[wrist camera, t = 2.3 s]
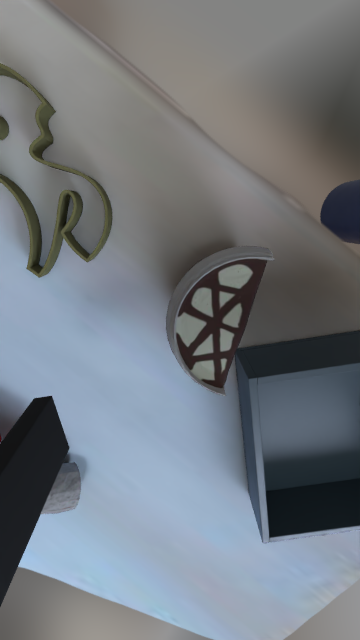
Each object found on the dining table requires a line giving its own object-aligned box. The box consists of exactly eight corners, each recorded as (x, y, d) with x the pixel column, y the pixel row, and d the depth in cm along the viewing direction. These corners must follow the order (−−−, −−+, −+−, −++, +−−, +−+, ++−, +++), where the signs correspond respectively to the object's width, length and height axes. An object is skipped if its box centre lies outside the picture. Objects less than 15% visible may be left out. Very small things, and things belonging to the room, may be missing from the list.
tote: (391, 325, 34) (441, 350, 28) (379, 475, 41) (417, 522, 34) (234, 349, 34) (248, 378, 28) (248, 493, 41) (262, 543, 35)
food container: (184, 223, 30) (190, 227, 20) (244, 240, 30) (277, 251, 21) (155, 337, 33) (149, 386, 24) (208, 350, 34) (223, 402, 25)
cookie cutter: (-99, 146, 27) (-119, 140, 25) (-16, 31, 24) (-31, 16, 23) (61, 291, 31) (54, 296, 30) (143, 207, 29) (141, 206, 27)
